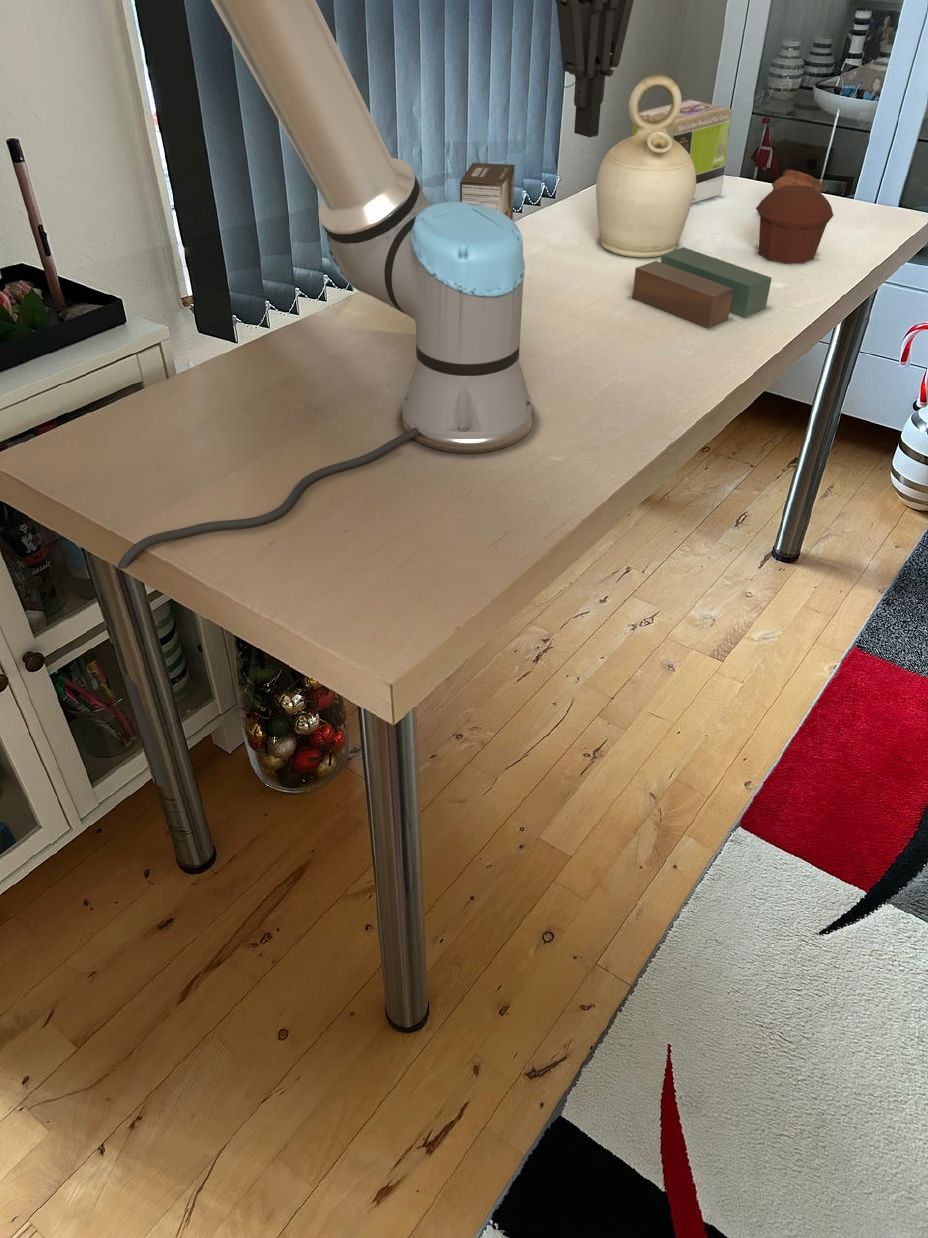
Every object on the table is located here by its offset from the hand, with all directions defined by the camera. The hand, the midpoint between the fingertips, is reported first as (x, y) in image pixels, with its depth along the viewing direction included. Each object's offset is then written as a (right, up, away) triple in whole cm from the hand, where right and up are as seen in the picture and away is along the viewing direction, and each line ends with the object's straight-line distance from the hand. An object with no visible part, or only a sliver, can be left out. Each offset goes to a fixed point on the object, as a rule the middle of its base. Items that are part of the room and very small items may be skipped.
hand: (586, 133), depth 125 cm
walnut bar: (+16, -16, +19) cm, 29 cm away
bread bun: (+42, +10, +50) cm, 66 cm away
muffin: (+36, -2, +36) cm, 51 cm away
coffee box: (-12, -10, +26) cm, 30 cm away
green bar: (+21, -13, +23) cm, 34 cm away
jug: (+13, 0, +39) cm, 41 cm away
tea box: (+23, +16, +58) cm, 64 cm away
